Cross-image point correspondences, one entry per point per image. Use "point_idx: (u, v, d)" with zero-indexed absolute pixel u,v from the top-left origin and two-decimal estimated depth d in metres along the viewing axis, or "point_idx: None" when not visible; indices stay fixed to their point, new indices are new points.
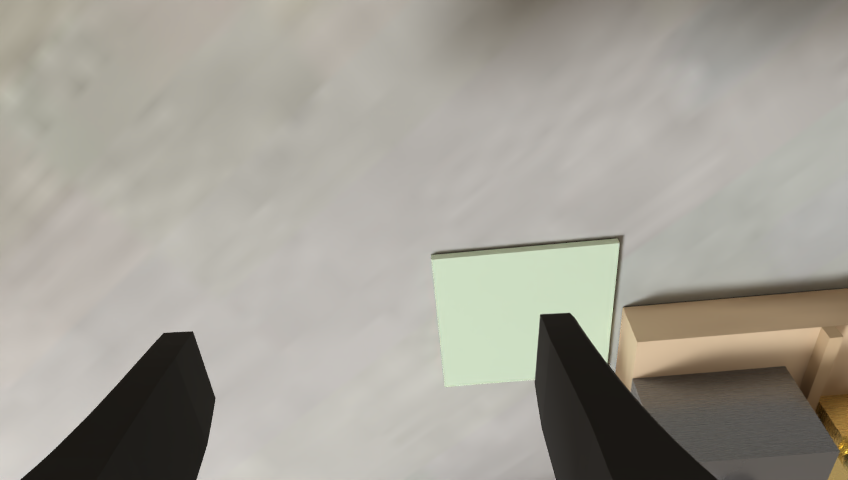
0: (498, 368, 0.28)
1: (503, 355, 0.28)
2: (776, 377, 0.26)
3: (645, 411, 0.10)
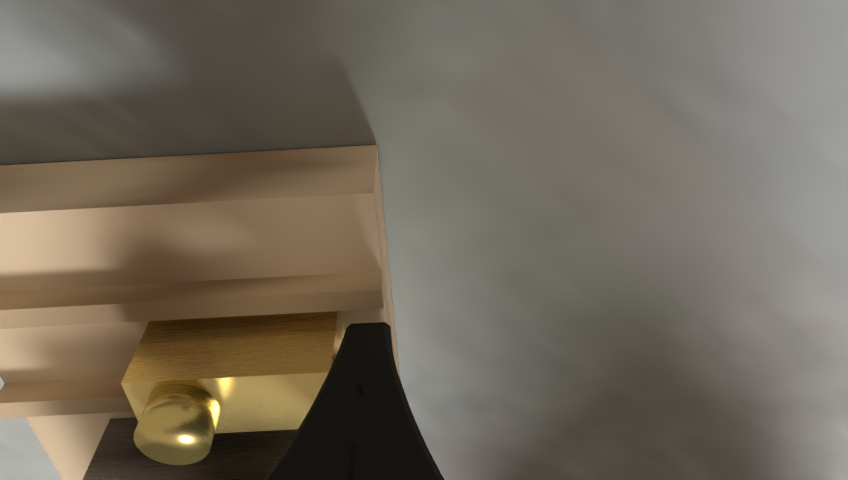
0: None
1: None
2: None
3: (411, 423, 0.10)
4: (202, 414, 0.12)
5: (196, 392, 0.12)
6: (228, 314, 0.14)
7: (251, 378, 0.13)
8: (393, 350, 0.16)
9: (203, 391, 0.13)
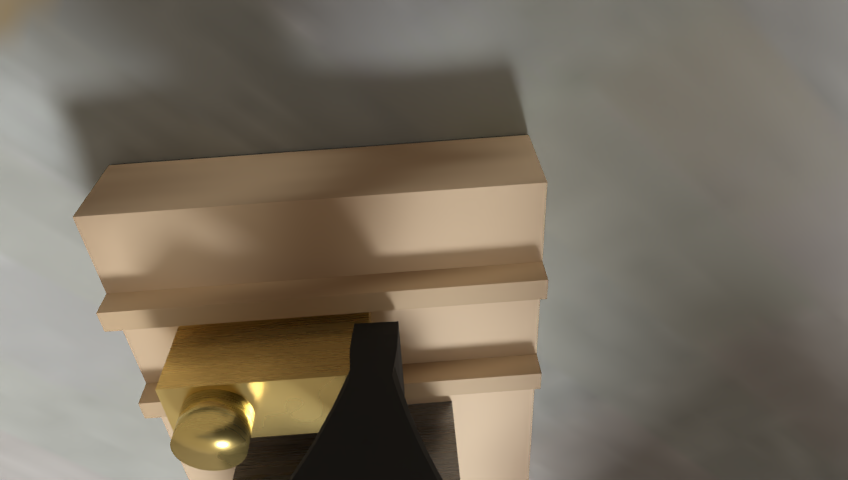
0: None
1: None
2: None
3: (409, 423, 0.10)
4: (239, 419, 0.12)
5: (232, 397, 0.12)
6: (390, 308, 0.13)
7: (287, 382, 0.12)
8: None
9: (238, 396, 0.12)
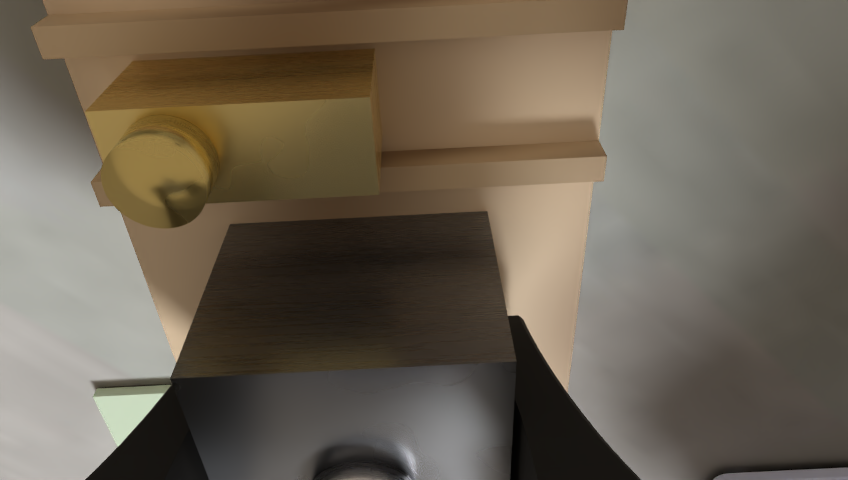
0: None
1: None
2: None
3: (580, 414, 0.10)
4: (195, 149, 0.09)
5: (187, 124, 0.09)
6: (417, 39, 0.10)
7: (263, 106, 0.09)
8: None
9: (197, 125, 0.09)
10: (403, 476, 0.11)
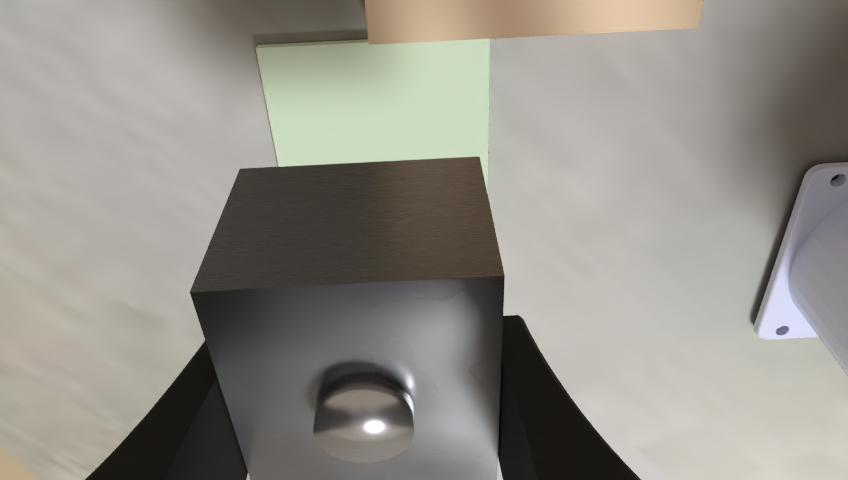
0: None
1: None
2: None
3: (580, 414, 0.10)
4: None
5: None
6: None
7: None
8: None
9: None
10: (401, 392, 0.12)
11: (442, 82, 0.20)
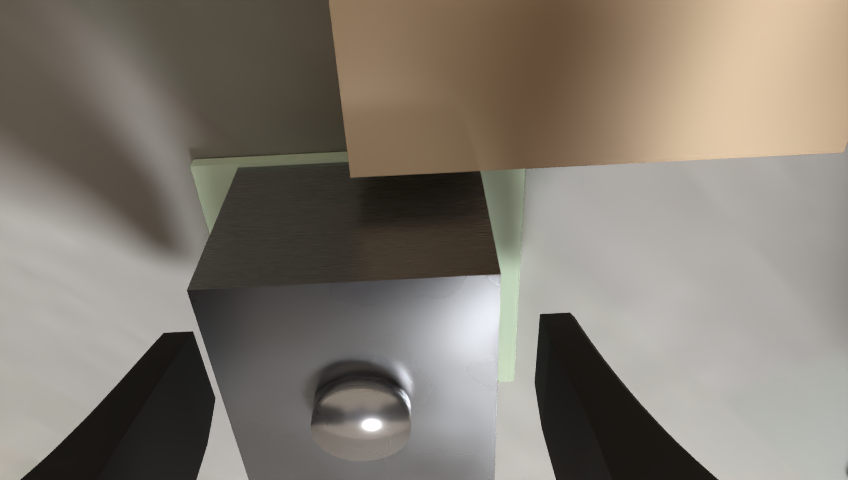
0: None
1: None
2: None
3: (645, 411, 0.10)
4: None
5: None
6: None
7: None
8: None
9: None
10: (398, 390, 0.12)
11: None
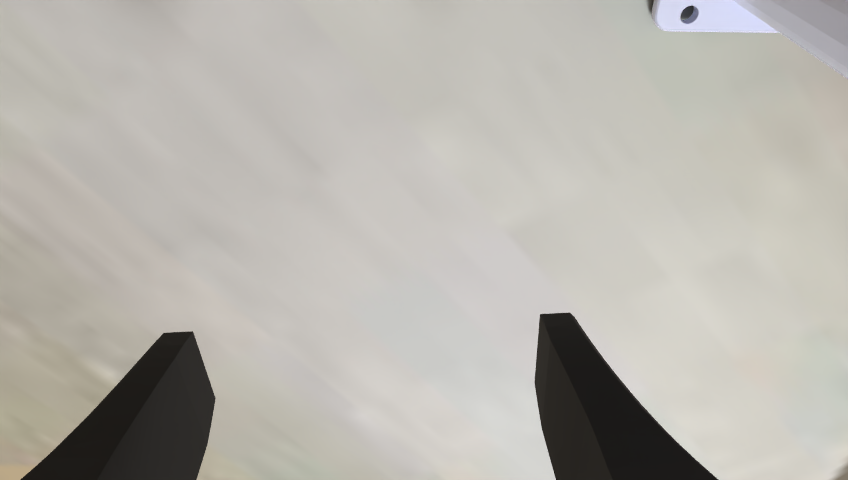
0: None
1: None
2: None
3: (645, 411, 0.10)
4: None
5: None
6: None
7: None
8: None
9: None
10: None
11: None
